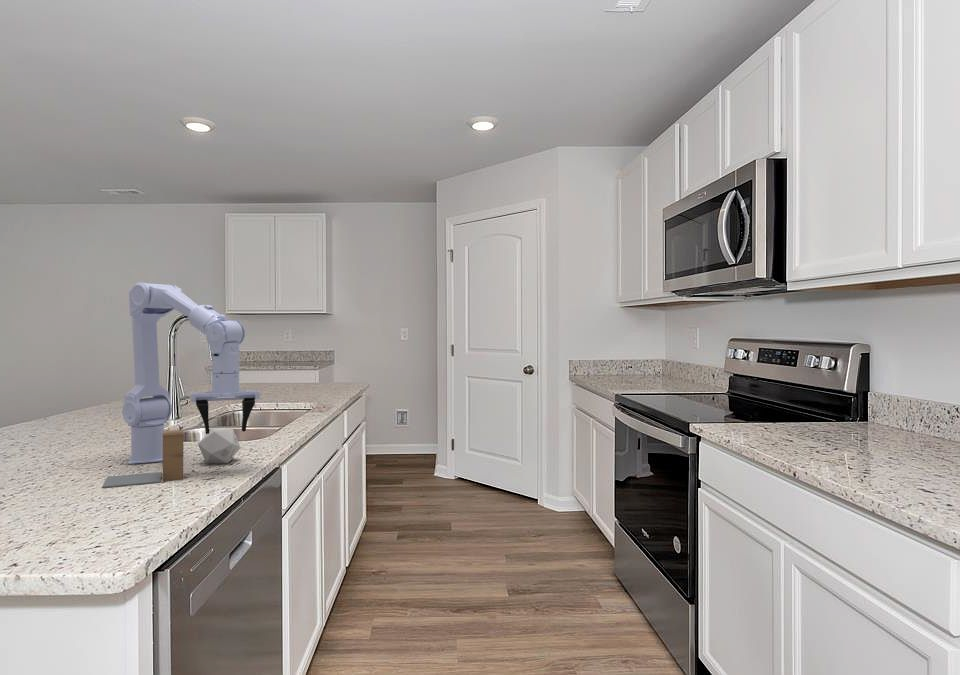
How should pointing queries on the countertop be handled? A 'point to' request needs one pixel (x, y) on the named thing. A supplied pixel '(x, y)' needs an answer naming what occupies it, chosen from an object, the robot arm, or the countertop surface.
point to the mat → (132, 479)
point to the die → (219, 445)
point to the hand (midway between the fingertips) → (225, 431)
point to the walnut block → (172, 455)
